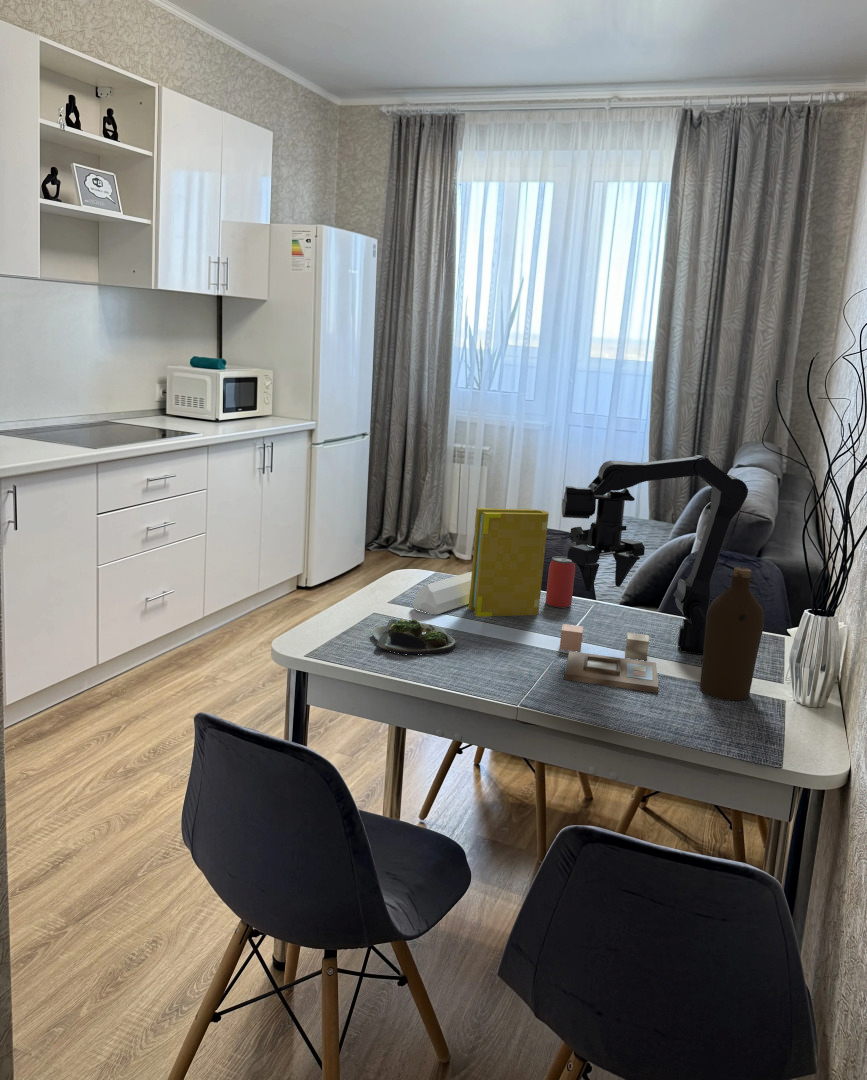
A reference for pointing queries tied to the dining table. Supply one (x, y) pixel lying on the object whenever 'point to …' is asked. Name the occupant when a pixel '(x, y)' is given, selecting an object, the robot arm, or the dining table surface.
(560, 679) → the dining table surface
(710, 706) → the dining table surface
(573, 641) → the terracotta block
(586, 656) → the board
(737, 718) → the dining table surface
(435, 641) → the salad plate
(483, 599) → the book
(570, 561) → the beer can
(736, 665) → the olive oil
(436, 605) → the crystal
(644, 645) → the birch block
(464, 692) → the dining table surface
